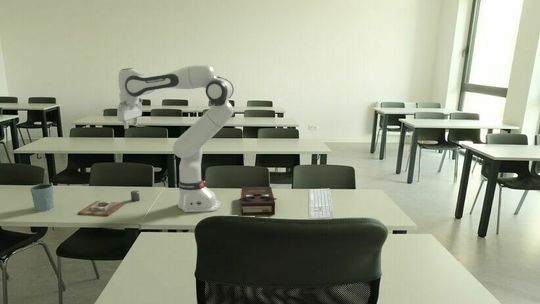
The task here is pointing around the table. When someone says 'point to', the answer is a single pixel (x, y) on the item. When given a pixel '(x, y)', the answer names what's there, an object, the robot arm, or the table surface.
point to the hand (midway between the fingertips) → (131, 127)
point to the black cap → (135, 196)
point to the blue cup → (42, 197)
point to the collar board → (101, 208)
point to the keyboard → (320, 204)
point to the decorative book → (257, 201)
